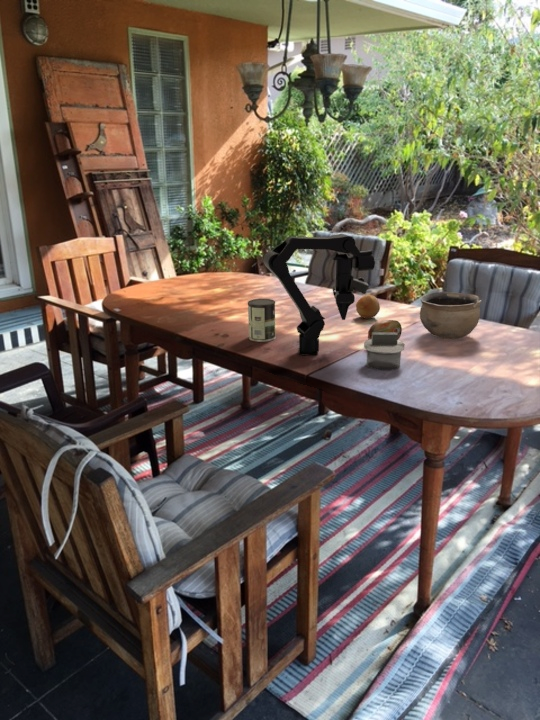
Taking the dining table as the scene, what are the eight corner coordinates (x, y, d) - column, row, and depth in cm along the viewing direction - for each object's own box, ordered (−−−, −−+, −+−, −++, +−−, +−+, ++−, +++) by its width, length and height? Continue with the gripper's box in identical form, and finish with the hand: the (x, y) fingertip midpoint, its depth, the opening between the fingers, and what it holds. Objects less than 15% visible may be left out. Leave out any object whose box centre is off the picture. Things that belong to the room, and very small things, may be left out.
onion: (356, 314, 259) (357, 291, 256) (379, 315, 257) (380, 292, 254) (354, 320, 250) (355, 296, 247) (378, 321, 248) (380, 297, 245)
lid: (366, 353, 192) (367, 339, 190) (361, 341, 204) (362, 327, 202) (407, 353, 191) (408, 339, 190) (400, 341, 203) (401, 327, 202)
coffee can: (273, 333, 234) (272, 297, 230) (277, 341, 225) (277, 304, 220) (246, 334, 233) (245, 299, 228) (250, 342, 223) (249, 305, 219)
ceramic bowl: (476, 347, 215) (480, 306, 210) (413, 342, 222) (416, 302, 217) (478, 330, 234) (482, 293, 229) (421, 326, 242) (424, 289, 237)
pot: (368, 370, 195) (369, 352, 193) (362, 354, 210) (363, 337, 208) (402, 370, 194) (404, 352, 192) (394, 354, 209) (395, 337, 207)
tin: (372, 348, 215) (373, 326, 213) (365, 346, 218) (366, 324, 215) (401, 341, 223) (403, 319, 221) (395, 339, 226) (396, 317, 223)
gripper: (370, 277, 197) (368, 323, 202) (364, 266, 215) (362, 309, 220) (336, 277, 198) (335, 323, 203) (332, 266, 215) (331, 309, 220)
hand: (342, 316), depth 212 cm, fingers open, 9 cm apart
